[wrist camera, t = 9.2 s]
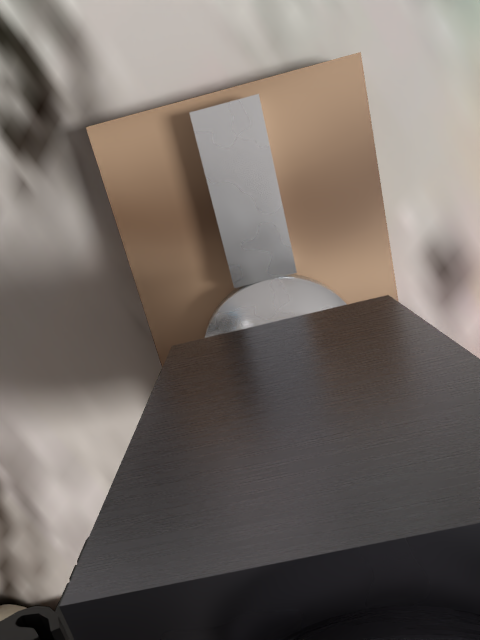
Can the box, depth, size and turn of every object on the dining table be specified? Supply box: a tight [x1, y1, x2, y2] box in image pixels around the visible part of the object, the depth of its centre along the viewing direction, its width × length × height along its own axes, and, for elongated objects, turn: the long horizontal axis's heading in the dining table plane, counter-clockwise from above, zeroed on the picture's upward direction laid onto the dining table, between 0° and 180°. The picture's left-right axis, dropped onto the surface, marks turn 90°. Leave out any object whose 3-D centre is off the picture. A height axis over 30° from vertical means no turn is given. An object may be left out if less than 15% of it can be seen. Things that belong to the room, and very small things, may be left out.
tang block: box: [86, 52, 398, 368], centre depth 17 cm, size 20×10×6 cm, turn 14°
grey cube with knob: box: [59, 295, 480, 640], centre depth 8 cm, size 6×6×9 cm
